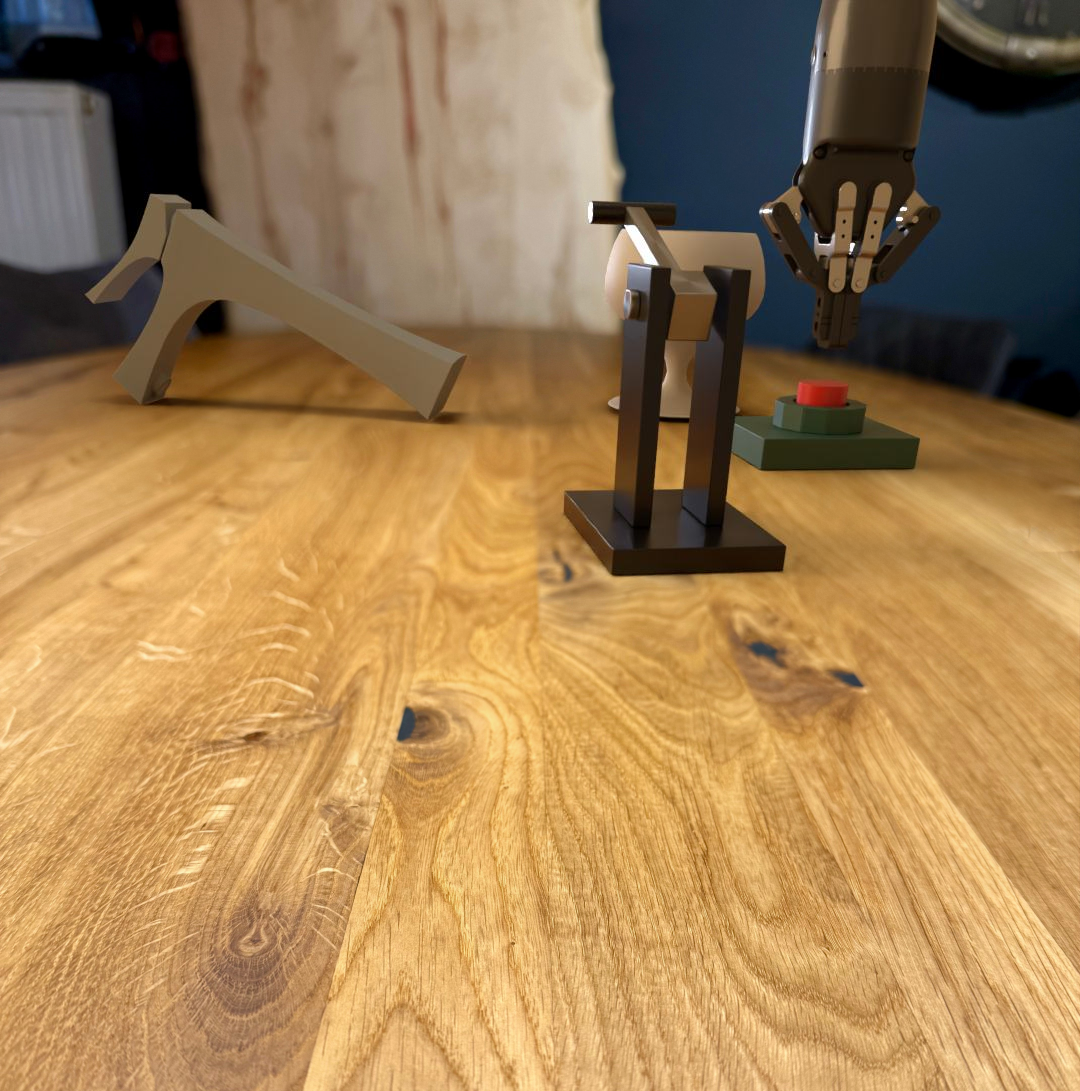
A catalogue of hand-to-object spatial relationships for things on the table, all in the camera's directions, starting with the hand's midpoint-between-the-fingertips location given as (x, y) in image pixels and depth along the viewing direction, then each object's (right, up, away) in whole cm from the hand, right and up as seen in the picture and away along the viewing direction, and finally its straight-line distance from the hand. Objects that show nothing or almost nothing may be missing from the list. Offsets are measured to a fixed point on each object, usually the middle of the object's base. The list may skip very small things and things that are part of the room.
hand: (832, 347), depth 75 cm
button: (0, -4, +2) cm, 4 cm away
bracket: (-14, -17, -18) cm, 29 cm away
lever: (-15, -3, -19) cm, 24 cm away
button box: (-1, -7, +3) cm, 8 cm away
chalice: (-9, +1, +20) cm, 22 cm away
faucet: (-44, 0, +15) cm, 46 cm away
